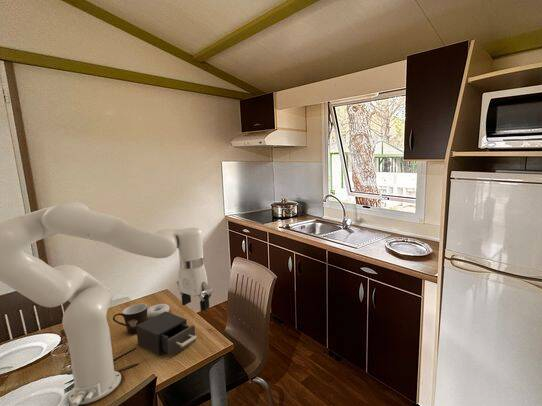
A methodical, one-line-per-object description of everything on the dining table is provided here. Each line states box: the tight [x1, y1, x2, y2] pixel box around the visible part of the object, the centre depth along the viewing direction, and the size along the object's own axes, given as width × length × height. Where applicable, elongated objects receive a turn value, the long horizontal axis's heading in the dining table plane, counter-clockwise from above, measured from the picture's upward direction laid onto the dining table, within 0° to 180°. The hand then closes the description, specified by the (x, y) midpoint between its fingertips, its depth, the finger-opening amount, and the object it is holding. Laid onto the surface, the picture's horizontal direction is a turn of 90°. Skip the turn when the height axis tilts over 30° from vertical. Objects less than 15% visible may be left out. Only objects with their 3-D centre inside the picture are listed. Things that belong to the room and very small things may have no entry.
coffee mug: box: [112, 303, 148, 336], centre depth 118 cm, size 12×9×10 cm
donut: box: [147, 303, 170, 320], centre depth 131 cm, size 10×4×10 cm
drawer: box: [160, 323, 198, 358], centre depth 108 cm, size 17×10×7 cm, turn 65°
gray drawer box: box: [136, 311, 188, 356], centre depth 111 cm, size 14×12×9 cm
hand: (195, 306), depth 100 cm, fingers open, 9 cm apart
